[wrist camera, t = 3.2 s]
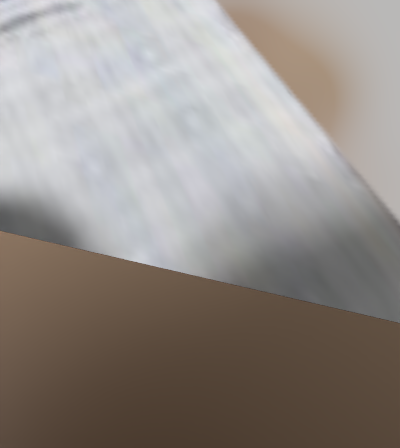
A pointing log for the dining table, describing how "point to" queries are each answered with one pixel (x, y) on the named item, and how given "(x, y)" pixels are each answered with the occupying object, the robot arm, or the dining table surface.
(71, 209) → the dining table surface
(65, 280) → the walnut block
